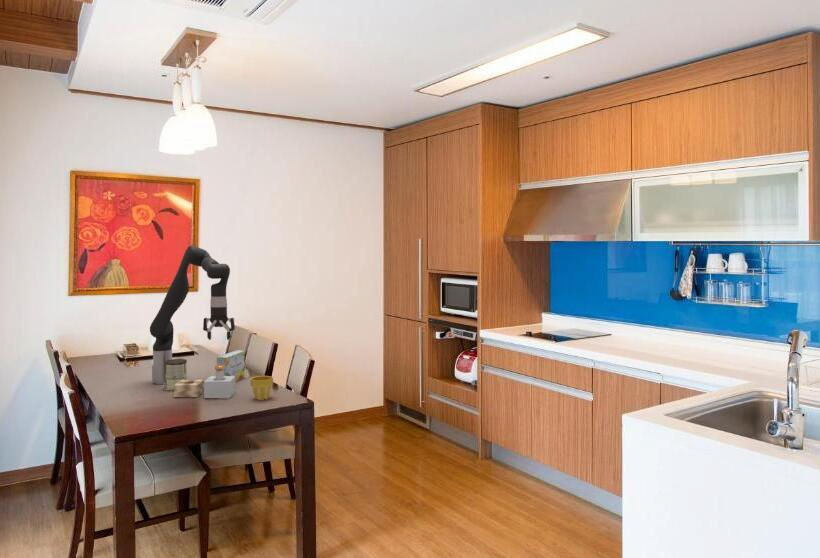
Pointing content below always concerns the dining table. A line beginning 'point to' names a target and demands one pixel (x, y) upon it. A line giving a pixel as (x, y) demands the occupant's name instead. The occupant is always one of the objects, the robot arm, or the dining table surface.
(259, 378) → the plant pot
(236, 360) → the snack box
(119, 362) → the dining table surface
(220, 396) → the socket
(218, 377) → the pin
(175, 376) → the coffee can
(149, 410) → the dining table surface
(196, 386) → the mount
